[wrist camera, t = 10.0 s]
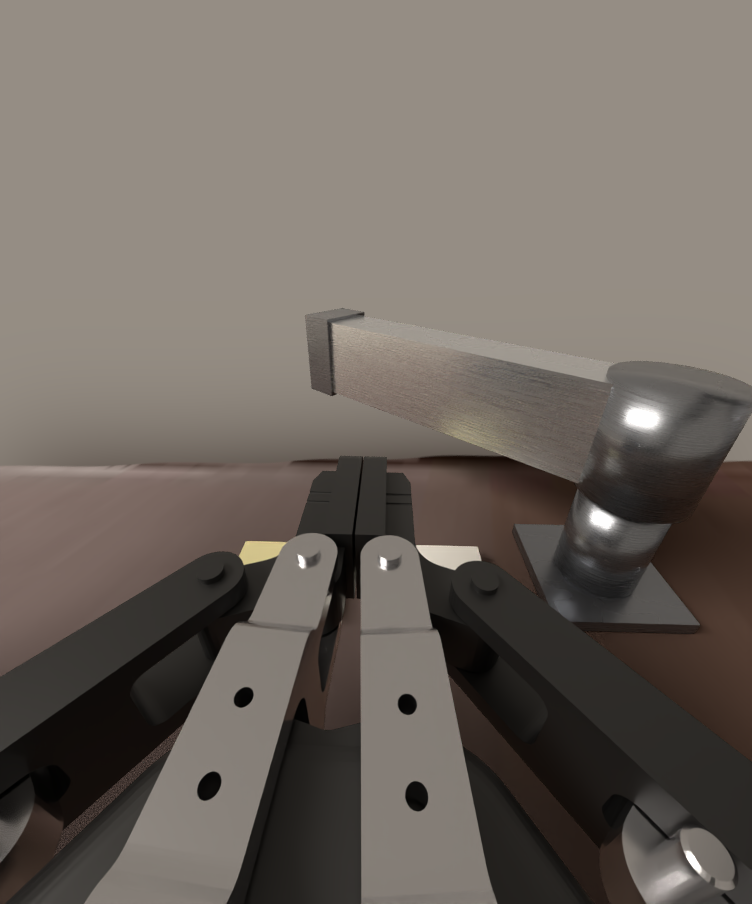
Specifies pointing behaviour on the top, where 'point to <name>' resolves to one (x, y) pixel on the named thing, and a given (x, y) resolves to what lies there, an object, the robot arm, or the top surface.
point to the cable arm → (544, 407)
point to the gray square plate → (603, 571)
